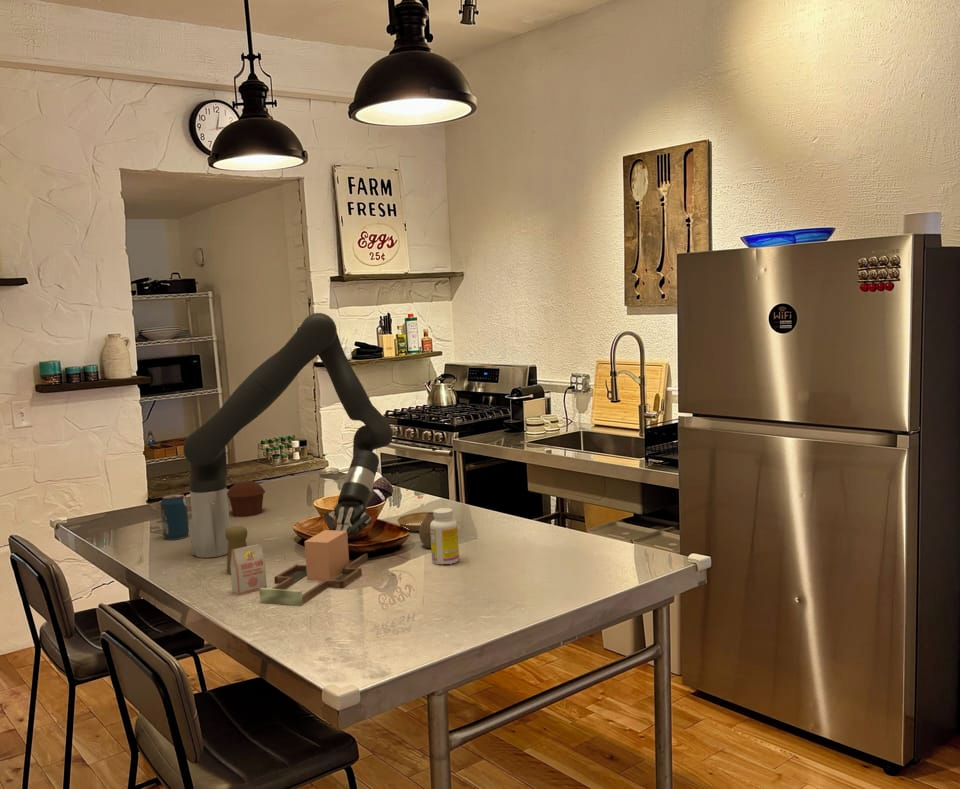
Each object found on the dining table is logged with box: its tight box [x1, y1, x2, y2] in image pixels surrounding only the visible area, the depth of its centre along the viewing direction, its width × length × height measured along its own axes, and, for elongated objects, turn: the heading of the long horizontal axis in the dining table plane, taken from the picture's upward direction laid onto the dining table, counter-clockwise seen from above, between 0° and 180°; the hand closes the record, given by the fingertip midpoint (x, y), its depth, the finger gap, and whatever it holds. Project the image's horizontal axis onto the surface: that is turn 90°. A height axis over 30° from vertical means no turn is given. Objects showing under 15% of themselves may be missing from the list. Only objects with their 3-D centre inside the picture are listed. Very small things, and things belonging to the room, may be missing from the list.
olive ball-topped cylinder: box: [225, 525, 248, 575], centre depth 211 cm, size 6×6×11 cm
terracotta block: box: [304, 529, 350, 581], centre depth 206 cm, size 6×10×9 cm, turn 162°
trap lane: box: [258, 553, 369, 606], centre depth 202 cm, size 18×33×3 cm, turn 162°
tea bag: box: [230, 543, 268, 596], centre depth 197 cm, size 4×7×10 cm, turn 126°
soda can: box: [160, 493, 190, 541], centre depth 246 cm, size 7×7×12 cm
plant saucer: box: [396, 511, 431, 532], centre depth 246 cm, size 15×15×3 cm
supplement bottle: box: [430, 507, 460, 565], centre depth 211 cm, size 7×7×13 cm
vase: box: [418, 511, 435, 549], centre depth 225 cm, size 7×7×9 cm
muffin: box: [227, 480, 266, 518], centre depth 271 cm, size 12×11×10 cm
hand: (338, 548), depth 212 cm, fingers closed
